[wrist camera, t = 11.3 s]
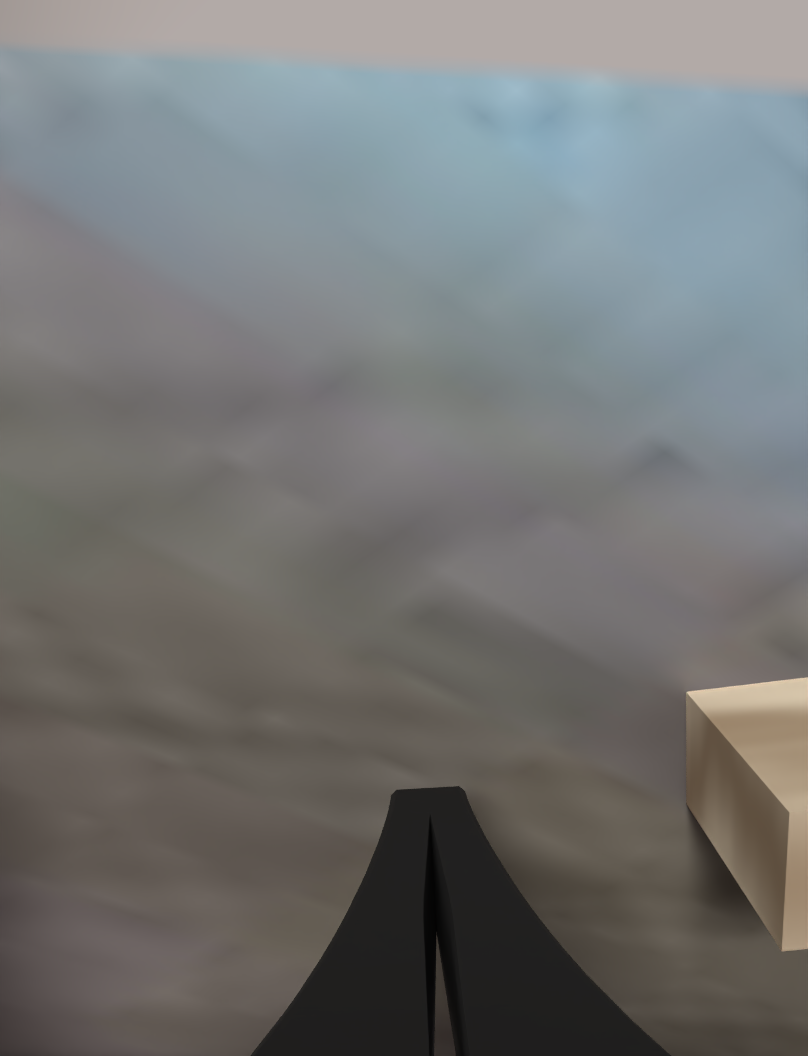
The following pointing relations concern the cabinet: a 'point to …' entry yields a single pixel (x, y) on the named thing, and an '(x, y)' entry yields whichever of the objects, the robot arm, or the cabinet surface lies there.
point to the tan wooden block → (755, 794)
